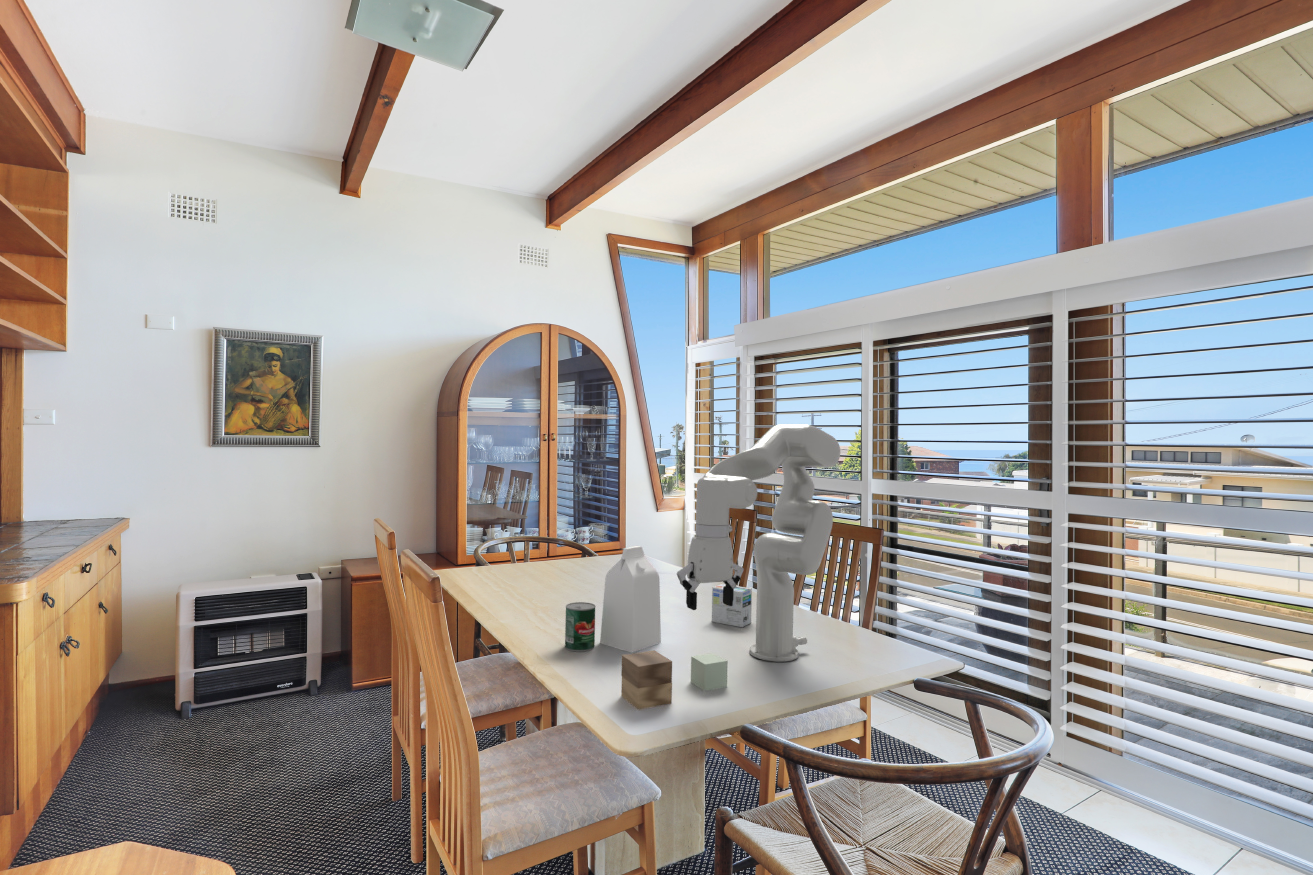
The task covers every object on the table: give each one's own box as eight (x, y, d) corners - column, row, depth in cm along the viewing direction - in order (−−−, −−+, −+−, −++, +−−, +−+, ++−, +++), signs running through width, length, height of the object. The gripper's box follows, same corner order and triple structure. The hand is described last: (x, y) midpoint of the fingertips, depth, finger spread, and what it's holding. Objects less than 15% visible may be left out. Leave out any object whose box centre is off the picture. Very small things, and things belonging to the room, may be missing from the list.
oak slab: (654, 690, 149) (654, 670, 149) (671, 704, 142) (672, 682, 142) (621, 696, 145) (621, 675, 145) (637, 710, 138) (638, 688, 138)
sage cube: (712, 678, 157) (713, 652, 157) (727, 687, 152) (727, 660, 152) (690, 682, 155) (691, 656, 155) (704, 691, 149) (705, 664, 149)
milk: (629, 633, 191) (631, 542, 191) (660, 642, 184) (663, 547, 184) (599, 643, 182) (602, 547, 182) (631, 652, 175) (634, 552, 175)
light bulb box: (752, 622, 206) (752, 587, 206) (742, 627, 200) (743, 591, 200) (720, 617, 211) (721, 582, 211) (710, 621, 206) (711, 586, 206)
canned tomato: (573, 640, 183) (574, 600, 183) (599, 644, 181) (600, 603, 181) (559, 649, 176) (560, 607, 176) (586, 653, 173) (587, 610, 173)
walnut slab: (653, 670, 149) (654, 650, 149) (671, 682, 142) (672, 661, 142) (621, 675, 145) (621, 655, 145) (638, 688, 138) (638, 666, 138)
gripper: (734, 528, 161) (732, 599, 161) (670, 530, 153) (668, 606, 153) (752, 532, 154) (750, 607, 154) (687, 535, 146) (685, 614, 146)
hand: (709, 606), depth 153 cm, fingers open, 9 cm apart
